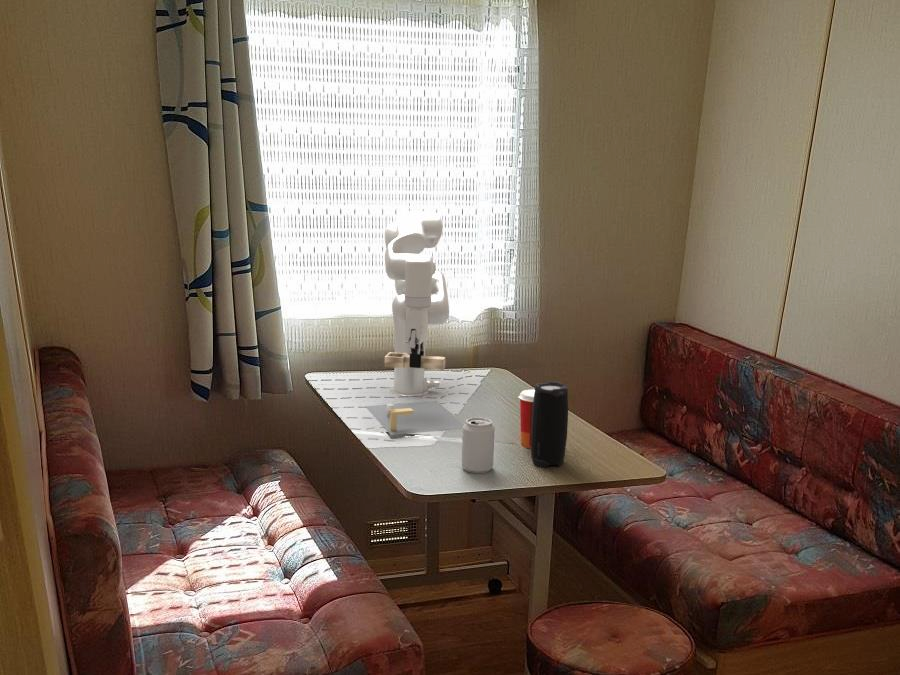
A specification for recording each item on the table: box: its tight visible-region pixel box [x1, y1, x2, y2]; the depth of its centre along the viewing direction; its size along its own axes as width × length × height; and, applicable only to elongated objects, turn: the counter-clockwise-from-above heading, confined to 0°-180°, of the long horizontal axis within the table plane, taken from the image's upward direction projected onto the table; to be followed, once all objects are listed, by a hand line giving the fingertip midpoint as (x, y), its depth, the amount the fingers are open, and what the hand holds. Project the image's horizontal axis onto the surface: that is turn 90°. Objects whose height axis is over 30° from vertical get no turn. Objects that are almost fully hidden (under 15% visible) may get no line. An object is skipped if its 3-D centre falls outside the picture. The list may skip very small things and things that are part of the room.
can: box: [461, 417, 496, 474], centre depth 191 cm, size 8×8×12 cm
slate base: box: [365, 400, 466, 439], centre depth 228 cm, size 22×27×6 cm
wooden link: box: [384, 351, 446, 371], centre depth 231 cm, size 17×5×3 cm, turn 80°
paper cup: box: [518, 389, 535, 449], centre depth 209 cm, size 8×8×14 cm
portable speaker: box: [530, 381, 569, 469], centre depth 196 cm, size 9×9×20 cm
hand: (416, 365), depth 231 cm, fingers closed on wooden link, 3 cm apart
